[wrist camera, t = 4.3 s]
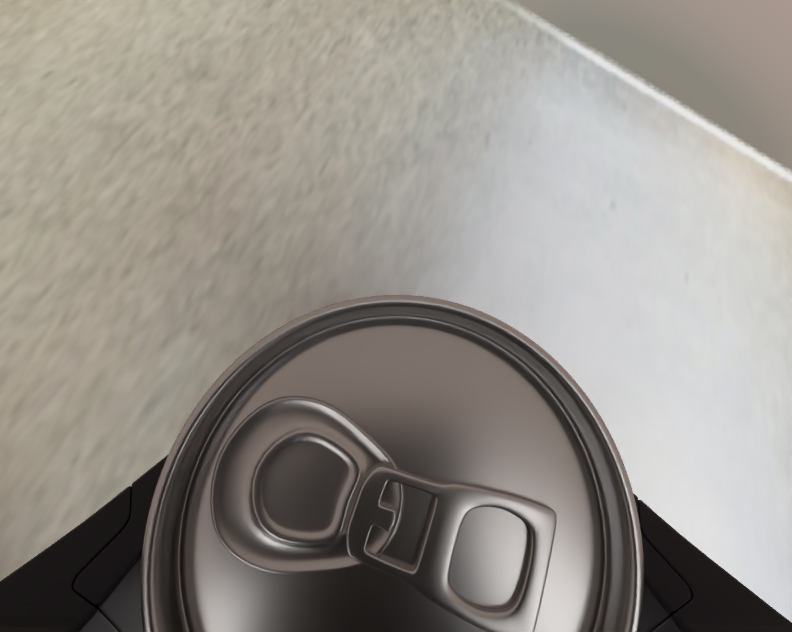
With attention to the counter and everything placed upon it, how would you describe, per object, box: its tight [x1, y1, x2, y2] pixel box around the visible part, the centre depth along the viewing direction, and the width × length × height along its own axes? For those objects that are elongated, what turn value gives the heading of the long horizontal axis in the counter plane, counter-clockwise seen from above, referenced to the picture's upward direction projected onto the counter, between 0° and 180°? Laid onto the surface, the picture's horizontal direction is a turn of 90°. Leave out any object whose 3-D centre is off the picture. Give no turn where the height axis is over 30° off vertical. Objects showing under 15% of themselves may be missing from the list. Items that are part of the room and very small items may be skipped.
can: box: [140, 295, 644, 632], centre depth 10 cm, size 6×6×12 cm
